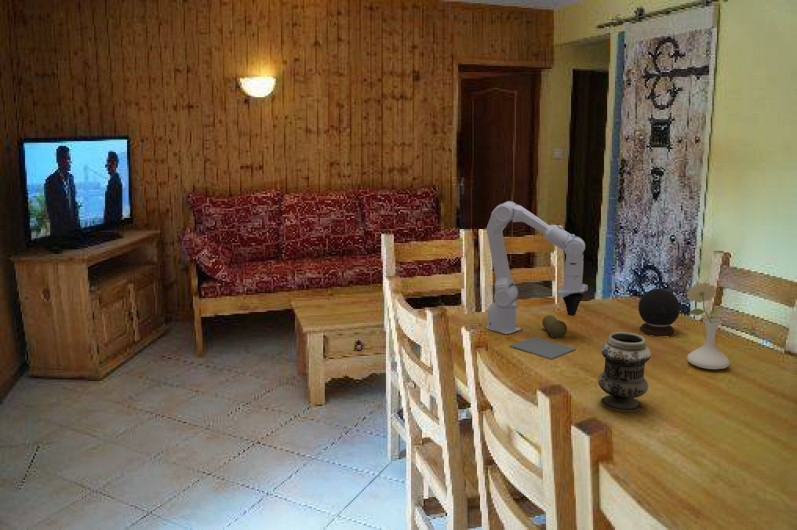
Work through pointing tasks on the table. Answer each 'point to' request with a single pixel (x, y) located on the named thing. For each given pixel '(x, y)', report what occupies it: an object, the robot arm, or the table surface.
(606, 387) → the apothecary jar
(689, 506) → the table surface
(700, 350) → the flower in vase
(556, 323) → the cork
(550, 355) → the topple mat
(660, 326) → the black ball on stand
